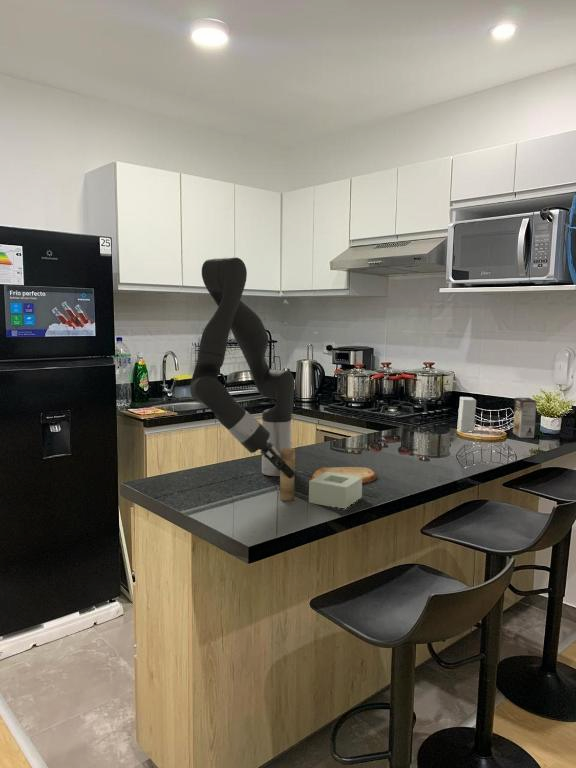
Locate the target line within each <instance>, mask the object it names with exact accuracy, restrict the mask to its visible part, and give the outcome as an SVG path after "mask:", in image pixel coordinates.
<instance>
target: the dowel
mask: <svg viewBox="0 0 576 768" xmlns="http://www.w3.org/2000/svg"><path fill="white" fill-rule="evenodd" d="M280 455H281V456H282V459H283V461H285V462H286V464H287V465H288V466H289V467H290V468H291V469H292V470H293V471H294V472H295V473H296V470H295V469H296V448H293V447H291V448H282V449H281V454H280ZM280 463H281V461H280ZM295 476H296V474H295V475H294V476H293V477H292V478H288V477H287V476H286V475H285V474H284V473H283V472H282V471H281V470H280V476H279V500H280V501H283V502H292V501H294V500H295V481H296V480H295Z"/></svg>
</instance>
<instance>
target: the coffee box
mask: <svg viewBox="0 0 576 768" xmlns="http://www.w3.org/2000/svg"><path fill="white" fill-rule="evenodd" d="M536 414H537V400H534V399H533V398H530V397H515V398H514V409H513V426H512V434H514V435H515V436H517V437H518V438H526V439H527V438H529V439H530V438H531V439H532V438H533V439H534V437H535V428H536V427H535V426H536Z"/></svg>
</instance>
